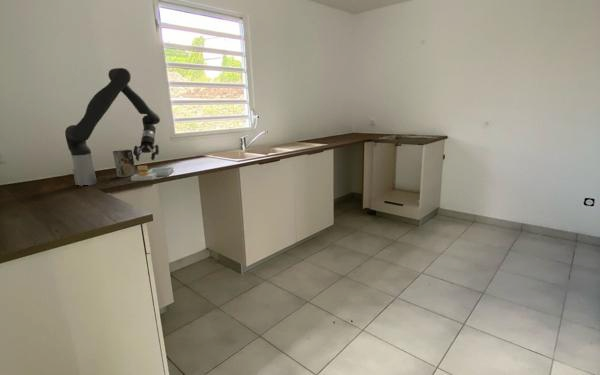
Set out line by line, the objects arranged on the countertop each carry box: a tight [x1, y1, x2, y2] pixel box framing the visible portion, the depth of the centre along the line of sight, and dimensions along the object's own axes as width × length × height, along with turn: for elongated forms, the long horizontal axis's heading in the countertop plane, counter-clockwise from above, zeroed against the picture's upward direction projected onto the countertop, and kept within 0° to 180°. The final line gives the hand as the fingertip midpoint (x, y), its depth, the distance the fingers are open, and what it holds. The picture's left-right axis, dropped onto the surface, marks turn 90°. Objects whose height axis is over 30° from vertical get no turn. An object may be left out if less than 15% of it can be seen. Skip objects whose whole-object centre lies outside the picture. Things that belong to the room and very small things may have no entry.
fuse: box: [136, 165, 149, 176], centre depth 193 cm, size 5×2×8 cm, turn 98°
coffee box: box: [112, 149, 137, 178], centre depth 203 cm, size 9×6×16 cm
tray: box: [148, 166, 174, 178], centre depth 206 cm, size 13×13×3 cm
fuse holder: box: [130, 173, 157, 182], centre depth 193 cm, size 12×7×2 cm, turn 97°
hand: (144, 159), depth 197 cm, fingers open, 8 cm apart
